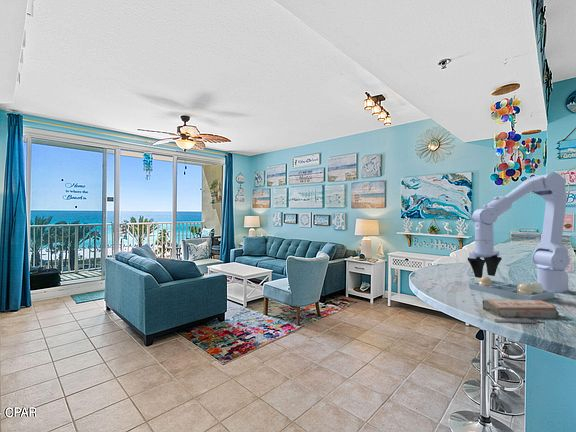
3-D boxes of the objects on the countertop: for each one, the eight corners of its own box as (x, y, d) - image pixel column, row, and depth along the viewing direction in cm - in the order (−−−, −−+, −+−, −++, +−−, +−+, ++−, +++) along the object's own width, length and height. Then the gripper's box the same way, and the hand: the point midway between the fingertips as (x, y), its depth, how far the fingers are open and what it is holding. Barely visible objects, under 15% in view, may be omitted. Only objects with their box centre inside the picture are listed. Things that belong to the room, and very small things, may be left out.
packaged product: (536, 296, 85) (566, 307, 75) (536, 312, 85) (566, 325, 75) (473, 295, 87) (493, 305, 77) (473, 311, 87) (494, 323, 77)
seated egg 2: (531, 294, 100) (531, 279, 100) (545, 296, 96) (545, 282, 96) (525, 295, 98) (524, 281, 98) (539, 298, 95) (538, 283, 95)
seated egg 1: (521, 296, 97) (520, 281, 97) (535, 299, 94) (534, 284, 94) (514, 297, 96) (513, 282, 96) (528, 300, 92) (527, 285, 92)
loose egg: (483, 287, 109) (483, 274, 109) (494, 290, 105) (494, 276, 105) (476, 288, 108) (476, 275, 108) (487, 291, 104) (487, 277, 104)
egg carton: (491, 287, 114) (491, 279, 114) (554, 300, 95) (554, 291, 95) (469, 291, 108) (469, 283, 108) (531, 305, 90) (530, 296, 90)
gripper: (485, 238, 113) (486, 272, 113) (461, 240, 107) (461, 276, 107) (504, 240, 107) (505, 276, 107) (479, 241, 101) (480, 280, 101)
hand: (484, 276), depth 106 cm, fingers open, 7 cm apart
